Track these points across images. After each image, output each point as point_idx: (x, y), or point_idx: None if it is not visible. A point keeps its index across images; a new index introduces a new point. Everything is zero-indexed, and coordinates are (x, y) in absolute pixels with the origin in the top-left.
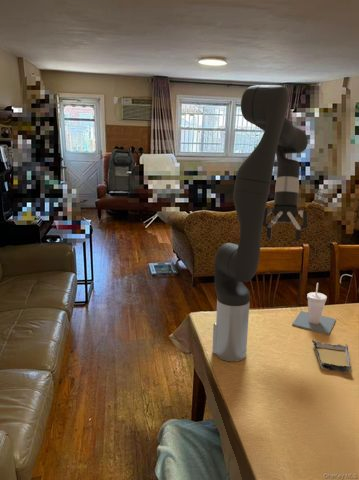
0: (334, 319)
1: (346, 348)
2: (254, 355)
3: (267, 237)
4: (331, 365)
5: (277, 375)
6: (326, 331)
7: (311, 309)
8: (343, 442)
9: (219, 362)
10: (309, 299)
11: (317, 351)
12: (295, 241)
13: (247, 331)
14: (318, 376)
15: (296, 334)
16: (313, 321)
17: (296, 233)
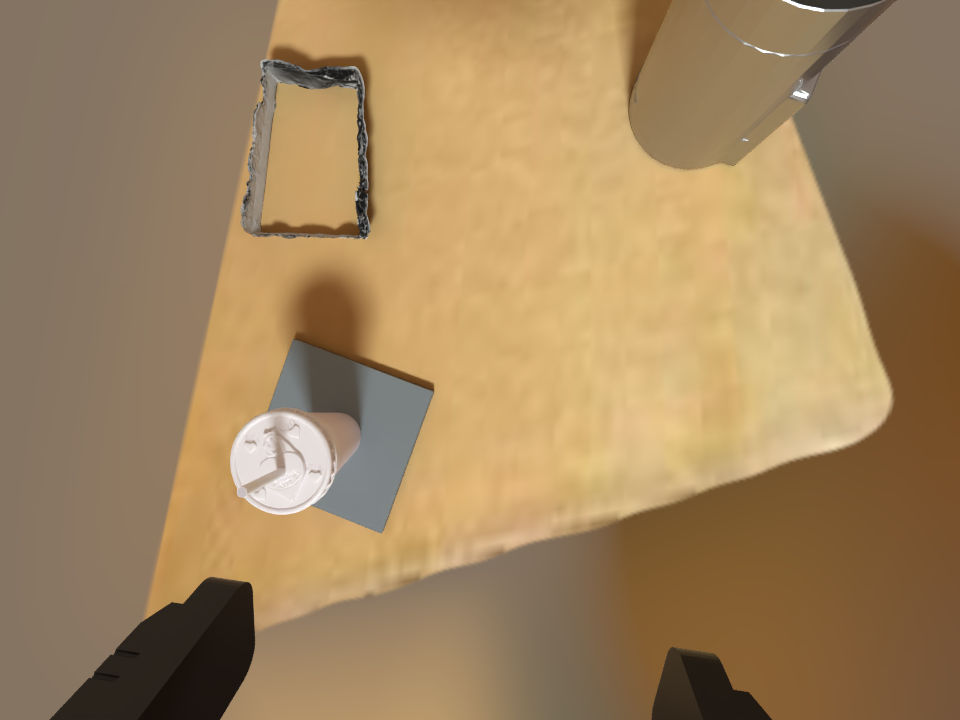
0: None
1: (250, 214)
2: (596, 116)
3: (743, 696)
4: (325, 70)
5: (516, 8)
6: (301, 354)
7: (333, 421)
8: None
9: None
10: (327, 430)
11: (360, 157)
12: (247, 585)
13: (660, 33)
14: (379, 39)
15: (423, 317)
16: (340, 413)
17: (134, 705)
